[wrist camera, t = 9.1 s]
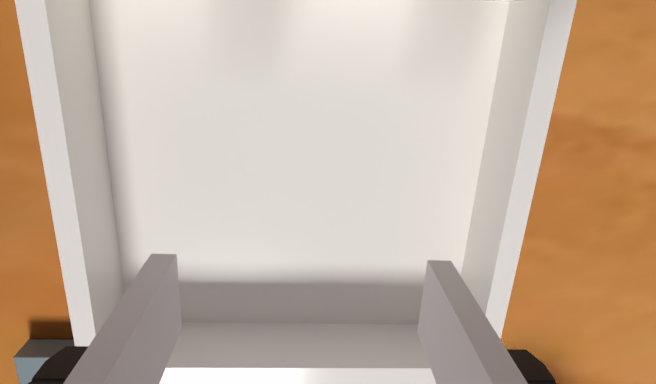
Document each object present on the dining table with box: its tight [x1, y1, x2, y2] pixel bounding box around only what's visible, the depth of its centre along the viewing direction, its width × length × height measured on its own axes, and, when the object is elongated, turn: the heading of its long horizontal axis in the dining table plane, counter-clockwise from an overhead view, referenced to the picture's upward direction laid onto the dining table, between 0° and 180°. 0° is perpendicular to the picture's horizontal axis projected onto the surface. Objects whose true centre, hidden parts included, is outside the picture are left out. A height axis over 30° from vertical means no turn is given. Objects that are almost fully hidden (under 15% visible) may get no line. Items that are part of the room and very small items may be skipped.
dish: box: [15, 0, 577, 384], centre depth 21 cm, size 20×19×4 cm
